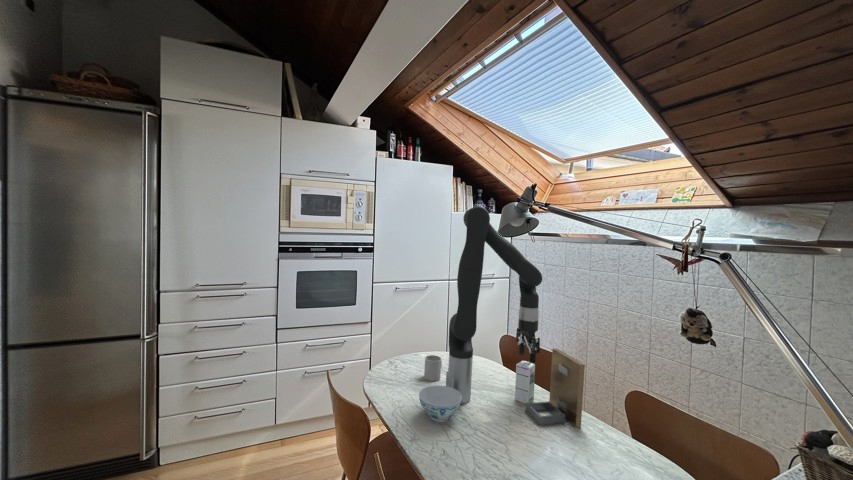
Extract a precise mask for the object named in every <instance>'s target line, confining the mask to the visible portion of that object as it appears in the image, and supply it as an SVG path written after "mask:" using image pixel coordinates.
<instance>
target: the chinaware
mask: <svg viewBox="0 0 853 480" xmlns="http://www.w3.org/2000/svg"><path fill="white" fill-rule="evenodd" d="M418 397H419V403H420V406H421V408H422V409H423V411H424V413H426V414H427V416H429V419H430V420H432V421H433V422H437V423H443V422H446V421H448V420H449V419H450V417H452V416H453V415H454V414H456V412H457V411H458V410H459V408H460V405H461V404H460V403H461V400H462V396H461V394H460V393H459V392H458V391H457V390H455V389H453V388H450V387H447V386H446V385H428V386H425V387H423V388H422V389H420V390H419V392H418Z"/></svg>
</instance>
